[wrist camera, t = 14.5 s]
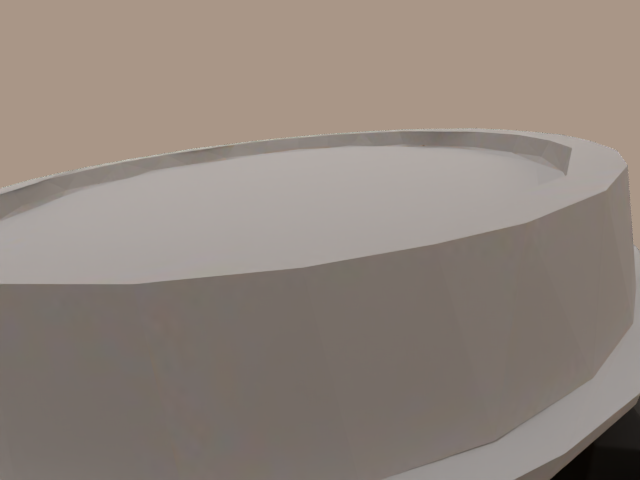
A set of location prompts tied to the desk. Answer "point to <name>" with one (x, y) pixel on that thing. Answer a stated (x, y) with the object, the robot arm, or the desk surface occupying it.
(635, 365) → the disposable coffee cup
